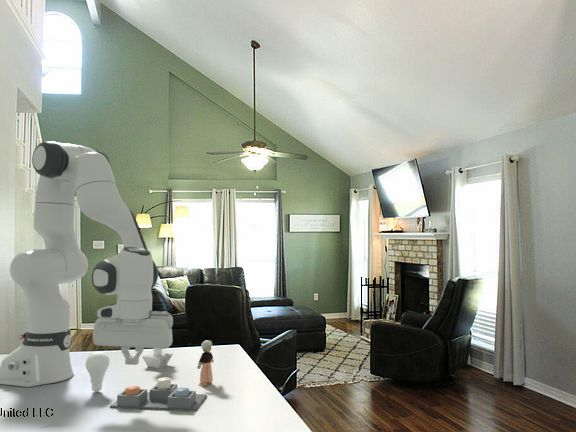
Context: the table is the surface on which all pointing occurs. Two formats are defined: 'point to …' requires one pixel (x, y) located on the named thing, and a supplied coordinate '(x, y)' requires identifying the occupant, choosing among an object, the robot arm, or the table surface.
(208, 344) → the grandmother figurine
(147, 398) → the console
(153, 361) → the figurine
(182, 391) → the slate button
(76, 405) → the table surface
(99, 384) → the lightbulb
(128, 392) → the rust button
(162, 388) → the cream button
